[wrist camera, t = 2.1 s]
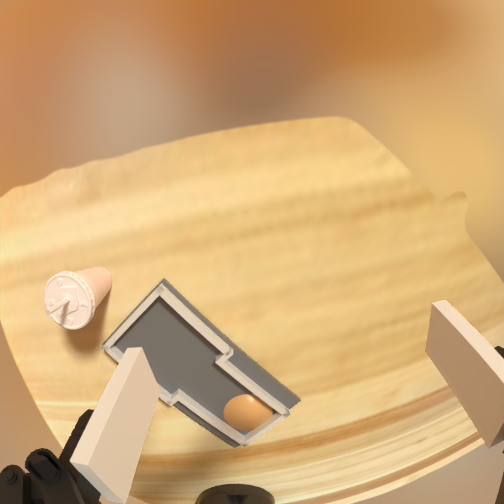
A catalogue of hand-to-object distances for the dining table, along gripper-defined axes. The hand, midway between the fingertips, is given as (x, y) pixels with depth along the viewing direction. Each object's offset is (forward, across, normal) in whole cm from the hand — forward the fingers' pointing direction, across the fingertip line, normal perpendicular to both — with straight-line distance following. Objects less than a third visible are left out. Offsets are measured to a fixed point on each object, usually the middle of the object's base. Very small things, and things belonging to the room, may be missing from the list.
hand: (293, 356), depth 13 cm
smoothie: (+24, +23, +4) cm, 34 cm away
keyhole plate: (+22, +12, +20) cm, 32 cm away
